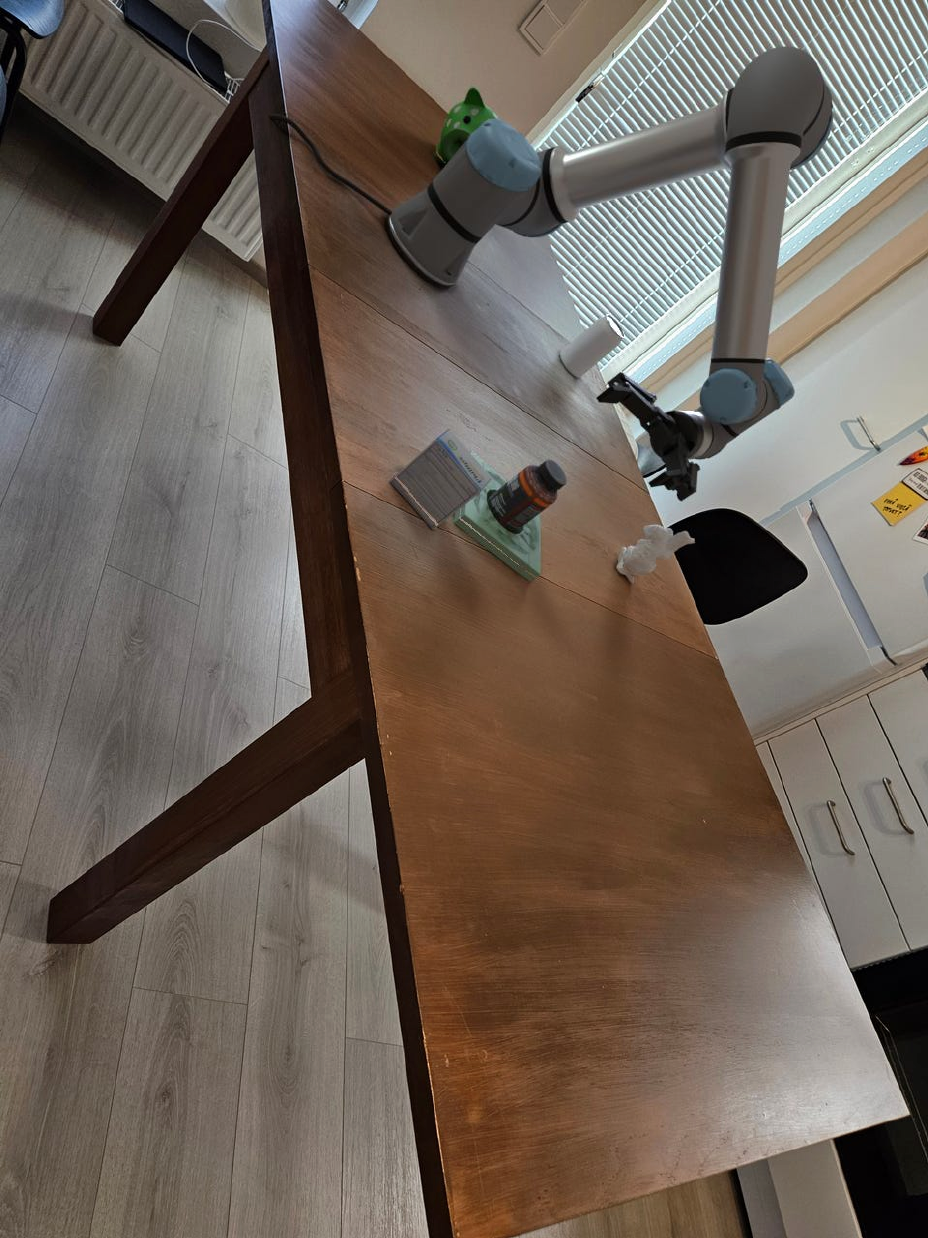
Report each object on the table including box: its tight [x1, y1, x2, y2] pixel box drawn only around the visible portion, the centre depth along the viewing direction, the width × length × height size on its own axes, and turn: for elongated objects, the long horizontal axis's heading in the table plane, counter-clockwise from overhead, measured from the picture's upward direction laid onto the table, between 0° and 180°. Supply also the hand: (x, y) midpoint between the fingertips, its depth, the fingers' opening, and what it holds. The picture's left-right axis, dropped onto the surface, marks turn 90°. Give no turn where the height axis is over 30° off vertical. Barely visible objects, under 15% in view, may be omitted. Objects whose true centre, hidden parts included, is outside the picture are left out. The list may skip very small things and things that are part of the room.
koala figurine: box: [616, 524, 696, 584], centre depth 128 cm, size 8×7×12 cm
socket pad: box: [453, 450, 542, 583], centre depth 108 cm, size 14×14×2 cm
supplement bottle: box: [487, 458, 568, 533], centre depth 105 cm, size 6×6×11 cm
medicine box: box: [390, 428, 491, 531], centre depth 95 cm, size 8×4×9 cm, turn 65°
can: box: [559, 313, 626, 378], centre depth 159 cm, size 6×6×12 cm
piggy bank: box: [433, 86, 500, 165], centre depth 166 cm, size 14×18×15 cm
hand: (631, 436), depth 106 cm, fingers open, 13 cm apart
